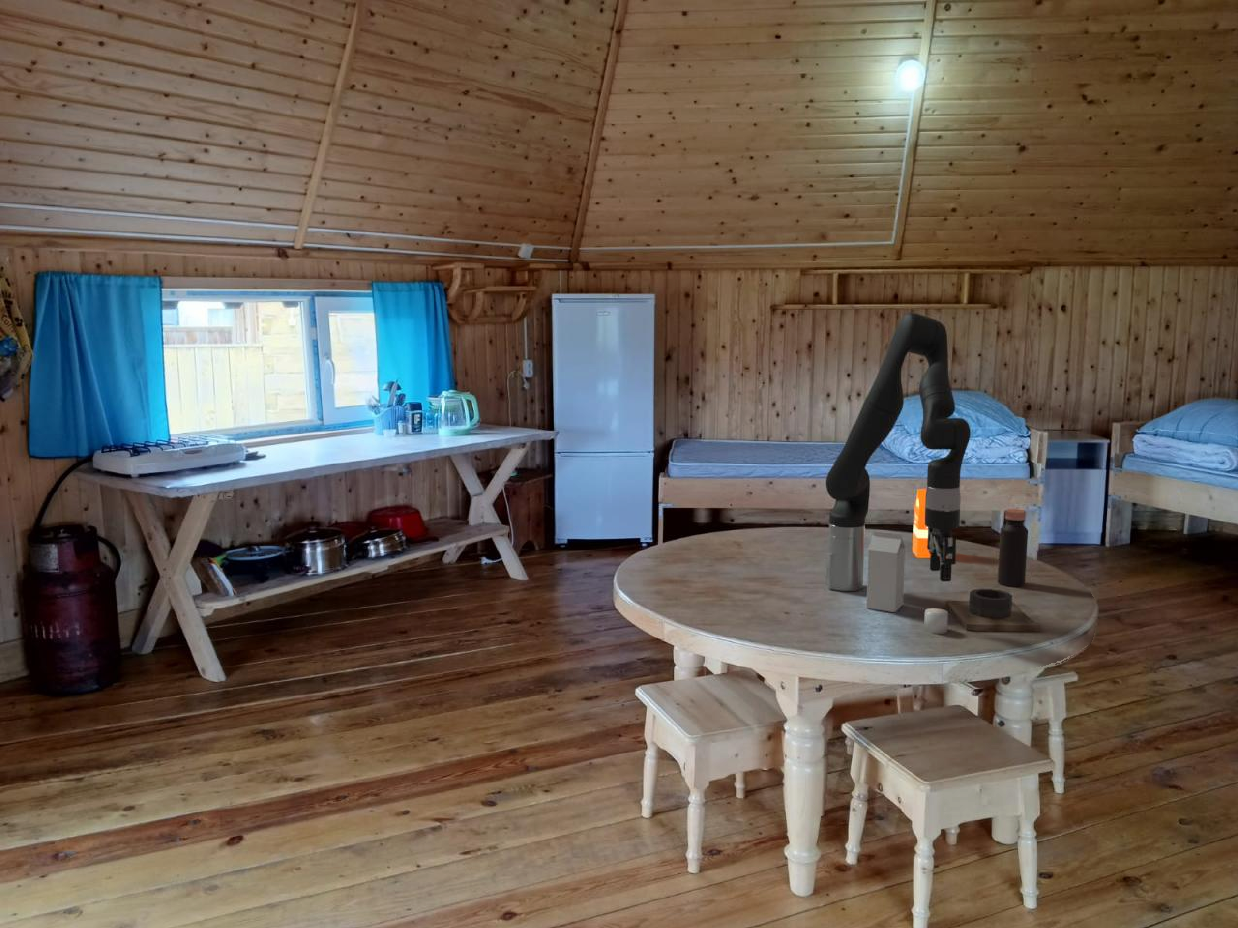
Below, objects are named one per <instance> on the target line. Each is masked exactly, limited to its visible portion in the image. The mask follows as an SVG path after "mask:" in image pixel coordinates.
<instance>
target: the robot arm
mask: <svg viewBox="0 0 1238 928" xmlns="http://www.w3.org/2000/svg"><path fill="white" fill-rule="evenodd" d="M947 334H948V333H947V329H946V327H945V325H944V323H942V322H941V321H939V320H937V319H934V318H931V317H928V316H925V315H922V314H919V313H916V312H908V313H906V314H904V315H903V316H902V317H901V318H900V320H899V322H898V324H897V326H896V328H895V330H894V332H893V335H892V338H891V340H890V342H889V346H888V348H887V350H886V354H885V356H884V359H883V361H882V364H881V367H880V368H879V371H878V373H877V375H876V377H875V379H874V381H873V383H872V386H871V388H870V390H869V392H868V394H867V395H866V398H865V399H864V402H863V403H862V406H861V408H860V410H859V412H858V415H857V417H856V419H855V421H854V424H853V427H851V428H852V429H851V430H850V433H849V435H848V437H847V440H846V442H845V444H844V446H843V448H842V450H841V452H840V453H839V454H838V456H837V458H836V459H835V461H834V463H833V464H832V466H831V468H830V469H829V471H828V472H827V475H826V476H825V477H826V478H825V488H826V492H827V494H828V495H829V496H830V498H831V499H833V500H835V502H834V505H833V508H832V509H831V510H830V512H829V515H828V517H829V518H828V543H827V544H828V547H827V549H826V566H825V569H826V570H825V585H826V586H827V588H828V590H836V591H842V592H855V591H860V590H862V589H863V587H864V585H863V583H864V561H865V560H864V556H865V554H864V553H865V533H866V532H865V528H866V526H865V525H866V518H867V515H868V511H869V504H870V501H869V500H870V488H871V487H870V486H871V483H870V481H871V480H870V475H869V472H868V470H867V469H866V466H867V464H868V462H869V460H870V458H871V457H872V455H874V453H875V452H876V450H877V449H878V448H879V447H880V445H882V443H883V442H884V441H885V440H886V438H887V437H888V436H889V434H890V433H891V432H892V430H893V428H894V427H895V425H896V423H897V421H898V419H899V417H900V415H901V412H902V410H903V407H904V404H905V403H904V401H905V399H904V398H905V397H904V391H903V390H904V389H903V383H902V368H903V365H904V362H905V359H906V357H907V355H908V353H911V354H914V355H919V356H921V357H925V359H926V361H927V363H928V368H927V370H926V371H925V372H924V374H923V375H922V377H921V379H920V382H919V385H918V386H919V387H918V392H919V397H920V403H921V407H922V421H921V423H922V424H921V429H920V435H919V436H920V442H921V443H922V445H923V446H924V447H925V448H926V449H927V450H938V451H939V450H950V451H949V452H948V454H947V455H946V456H945V457H941V458H937V459H933V460H931V461H929V463H928V465H927V474H926V475H927V476H926V489H925V490H926V497H925V525H926V526H927V527H928V542H927V549H928V550H929V554H931V555H930V558H929V569H930V571H931V572H939V571H940V572H939V579H940V580H941V581H942V582H950V581H951V580H952V566H953V565H956V562H957V559H956V558H957V557H956V556H957V555H956V553H957V549H956V548H957V539H956V537H953V536H952V532H951V531H952V530H955V529H959V527H960V524H961V521H960V520H961V519H960V518H961V499H962V498H961V469H962V465H963V460H964V457H965V454H966V452H967V449H968V445H969V443H970V440H971V430H972V429H971V427H970V425H969V422H968V421H967V420H966V419H964V418H961V417H952V416H953V415H954V413H955V410H956V403H955V399H954V395H953V392H952V387H951V384H950V379H949V357H948V355H949V353H948V351H949V350H948V336H947Z"/></svg>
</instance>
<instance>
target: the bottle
mask: <svg viewBox="0 0 1238 928" xmlns="http://www.w3.org/2000/svg"><path fill="white" fill-rule="evenodd" d="M1026 513H1027V512H1026V510H1023V509H1018V508H1009V509H1005V521H1006V522H1005V524H1004V525H1002V527H1000V534H999V535H1000V536H999V537H1000V538H999V555H998V568H997V569H998V572H997V583H998V584H1000V585H1002V586H1006V587H1012V588H1013V587H1015V588H1020V587H1023V586H1025V584H1026V573H1027V559H1028V544H1029V529H1028V528H1027V526H1025V525H1024V523H1025V522H1026Z"/></svg>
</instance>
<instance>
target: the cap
mask: <svg viewBox="0 0 1238 928" xmlns="http://www.w3.org/2000/svg"><path fill="white" fill-rule="evenodd" d="M948 613H949V612H948V611H947V610H946V609H943V608H937V607H935V608H934V607H931V608H930V607H929V608H926V609H924V618H923V619H924V621H923V623H924V624H923V630H924V631H925V632H926V631H927V633H929V632H930V633H929V634H934V633H936V634H935V635H942V634H946V633H947V632H948V615H949V614H948Z"/></svg>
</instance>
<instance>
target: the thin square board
mask: <svg viewBox="0 0 1238 928" xmlns="http://www.w3.org/2000/svg"><path fill="white" fill-rule="evenodd" d="M944 602H945V604H944V606H945V608H946V609H947V610H948V611H949V612H950V614H951V615H952V616H953V617H954V618H955V619H956V620H957V621H958V623H959V624H960V625H961V626H962V628H964V630H965V631H967V632H969V631H977V632H1035V633H1038V632H1039V624H1038V623H1037V622H1036V621H1034V620H1033V619H1032V618H1031V617H1030V616H1029V615H1028V614H1027V613H1025V612H1024V611H1023V610H1022V609H1021V608H1020V607H1019V606H1017V605H1016V604H1015V603H1014V602H1013V595H1012V594H1011V593H1010V592H1007V591H1003V590H1001V589H994V588H976V589H972V590H971V591H970V592H969V600H945V601H944Z"/></svg>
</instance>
